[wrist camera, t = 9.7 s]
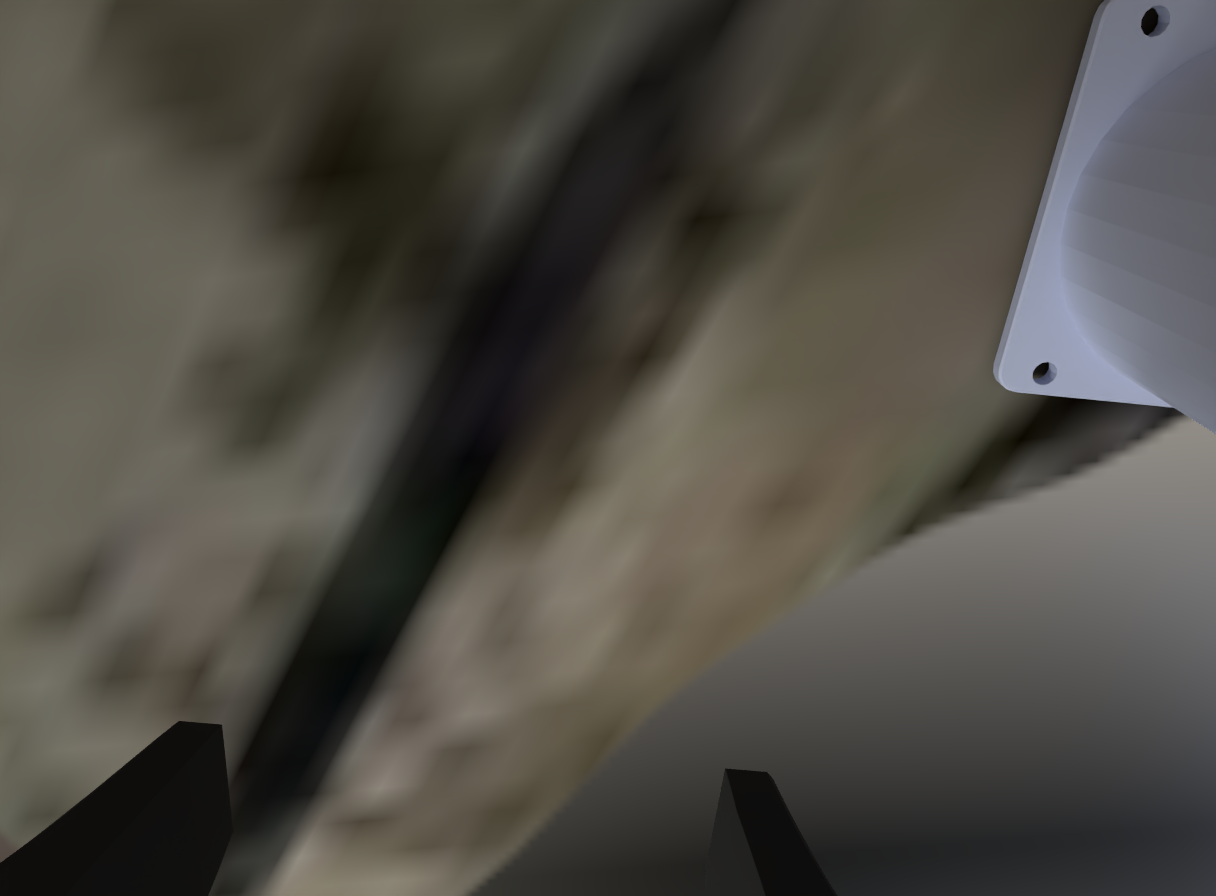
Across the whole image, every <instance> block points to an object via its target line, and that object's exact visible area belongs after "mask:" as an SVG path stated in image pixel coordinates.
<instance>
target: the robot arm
mask: <svg viewBox="0 0 1216 896" xmlns="http://www.w3.org/2000/svg"><path fill="white" fill-rule="evenodd" d="M1150 8H1154V9H1155V10H1156V12H1157V14H1158V24H1157V26H1156V28H1155V29H1154V31H1153V32H1152V33H1150V34H1149V35H1148V36H1147V35H1145V34H1144V33H1143V31H1142V29H1141V20H1142V18H1143V16H1144V14H1145V12H1146V11H1148V10H1149V9H1150ZM1045 362H1049V370H1048V371H1047V373H1046V374H1045V375H1044V376H1042V377H1041V378H1038V379H1033V371H1034V370H1035V368H1036V367H1037V366H1038V365H1040V364H1041V363H1045ZM993 373H994V376H995V379H996V380H997V381H998V382H999V383H1000V384H1001V385H1002V386H1003V387H1005V388H1006V389H1007V390H1010V391H1013V392H1020V393H1031V394H1041V395H1051V396H1061V397H1072V398H1082V399H1092V400H1102V401H1113V402H1123V403H1133V404H1143V405H1154V406H1164V407H1174V408H1175V409H1177V410H1179V411H1180V412H1182V413H1183V414H1185V415H1187V416H1188V417H1190V418H1191V419H1193V420H1194V421H1196V422H1198V423H1199V424H1201V425H1203V426H1204V427H1206V428H1207V429H1209V430H1210V431H1212V432H1213V433H1215V434H1216V0H1104V1H1103V2H1102V3H1101V4H1100V5H1099V7H1098V9H1097V11H1096V13H1095V15H1094V18H1093V22H1092V25H1091V29H1090V32H1089V36H1088V39H1087V43H1086V46H1085V50H1084V53H1083V57H1082V60H1081V63H1080V67H1079V70H1078V74H1077V77H1076V81H1075V84H1074V88H1073V91H1072V95H1071V98H1070V102H1069V105H1068V109H1067V112H1066V116H1065V119H1064V122H1063V126H1062V129H1061V133H1060V136H1059V140H1058V143H1057V147H1056V150H1055V154H1054V157H1053V161H1052V164H1051V168H1050V171H1049V175H1048V178H1047V181H1046V185H1045V188H1044V192H1043V195H1042V199H1041V202H1040V206H1039V209H1038V213H1037V216H1036V220H1035V223H1034V227H1033V230H1032V233H1031V237H1030V240H1029V244H1028V247H1027V251H1026V254H1025V258H1024V261H1023V265H1022V268H1021V272H1020V275H1019V279H1018V282H1017V286H1016V289H1015V292H1014V296H1013V299H1012V303H1011V306H1010V310H1009V313H1008V317H1007V320H1006V324H1005V327H1004V331H1003V334H1002V338H1001V341H1000V345H999V348H998V351H997V355H996V358H995V362H994V368H993ZM232 833H233V826H232V816H231V807H230V797H229V788H228V778H227V769H226V759H225V750H224V740H223V731H222V725H219V724H208V723H196V722H185V721H178V722H177V723H176V724H175V725H173V726H172V727H171V728H169V729H168V730H167V731H166V732H164V733H163V734H162V735H161V736H159V737H158V738H157V739H156V740H154V741H153V742H152V743H151V744H150V745H148V746H147V747H146V748H145V749H144V750H142V751H141V752H140V753H139V754H137V755H136V756H135V757H134V758H133V759H131V760H130V761H129V762H128V763H127V764H125V765H124V766H123V767H122V768H121V769H119V770H118V771H117V772H116V773H115V774H113V775H112V776H111V777H110V778H108V779H107V780H106V781H105V782H104V783H102V784H101V785H100V786H99V787H97V788H96V789H95V790H94V791H93V792H91V793H90V794H89V795H88V796H86V797H85V798H84V799H83V800H81V801H80V802H79V803H78V804H76V805H75V806H74V807H73V808H71V809H70V810H69V811H67V812H66V813H65V814H64V815H62V816H61V817H60V818H59V819H57V820H56V821H55V822H54V823H52V824H51V825H50V826H49V827H47V828H46V829H45V830H44V831H42V832H41V833H40V834H38V835H37V836H36V837H35V838H33V839H32V840H31V841H29V842H28V843H27V844H25V845H24V846H23V847H21V848H20V849H19V850H17V851H16V852H14V853H13V854H12V855H10V856H9V857H8V858H6V859H5V860H4V861H2V862H1V863H0V896H208V895H209V892H210V890H211V887H212V885H213V882H214V880H215V877H216V875H217V872H218V870H219V867H220V865H221V862H222V859H223V857H224V854H225V851H226V849H227V846H228V843H229V841H230V838H231V835H232ZM705 881H706V896H837V894H836V892H835V891H834V889H833V888H832V886H831V884H830V883H829V881H828V879H827V878H826V876H825V875H824V873H823V871H822V869H821V868H820V866H819V864H818V863H817V861H816V859H815V857H814V856H813V854H812V852H811V850H810V849H809V847H808V845H807V843H806V842H805V840H804V838H803V836H802V834H801V832H800V831H799V829H798V827H797V825H796V823H795V821H794V819H793V817H792V816H791V814H790V812H789V810H788V808H787V806H786V804H785V802H784V800H783V798H782V796H781V794H780V792H779V790H778V788H777V786H776V784H775V782H774V780H773V779H772V777H771V776H770V775H769V774H768V773H767V772H759V771H747V770H735V769H725V772H724V777H723V782H722V787H721V793H720V798H719V802H718V808H717V813H716V818H715V823H714V828H713V833H712V838H711V844H710V849H709V853H708V859H707V864H706V869H705Z"/></svg>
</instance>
